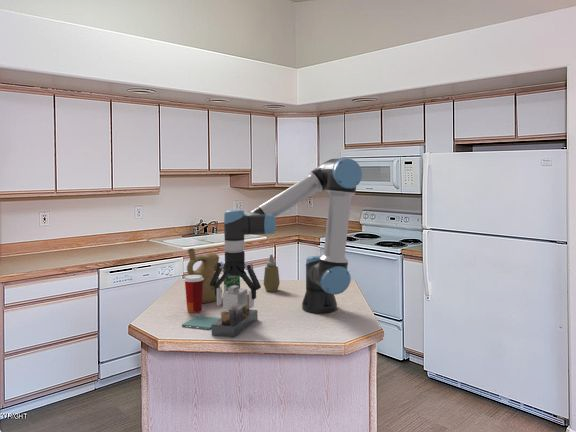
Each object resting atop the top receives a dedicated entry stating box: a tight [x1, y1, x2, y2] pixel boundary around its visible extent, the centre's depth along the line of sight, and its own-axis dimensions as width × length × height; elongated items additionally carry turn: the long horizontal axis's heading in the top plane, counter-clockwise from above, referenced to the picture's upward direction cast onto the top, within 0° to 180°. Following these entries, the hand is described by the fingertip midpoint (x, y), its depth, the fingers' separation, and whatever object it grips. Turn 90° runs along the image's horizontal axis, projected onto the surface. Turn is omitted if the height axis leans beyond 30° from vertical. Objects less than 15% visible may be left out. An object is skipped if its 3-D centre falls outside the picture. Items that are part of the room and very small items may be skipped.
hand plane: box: [211, 294, 259, 338], centre depth 186 cm, size 9×22×10 cm, turn 161°
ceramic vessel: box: [186, 248, 221, 304], centre depth 224 cm, size 17×20×25 cm
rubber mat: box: [181, 315, 221, 330], centre depth 191 cm, size 12×12×1 cm
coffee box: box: [222, 267, 241, 293], centre depth 240 cm, size 8×3×13 cm, turn 125°
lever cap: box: [222, 285, 248, 311], centre depth 185 cm, size 6×9×8 cm, turn 161°
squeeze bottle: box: [263, 254, 281, 293], centre depth 241 cm, size 8×8×18 cm
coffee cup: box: [183, 274, 204, 314], centre depth 207 cm, size 8×8×15 cm
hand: (235, 305), depth 185 cm, fingers open, 13 cm apart
